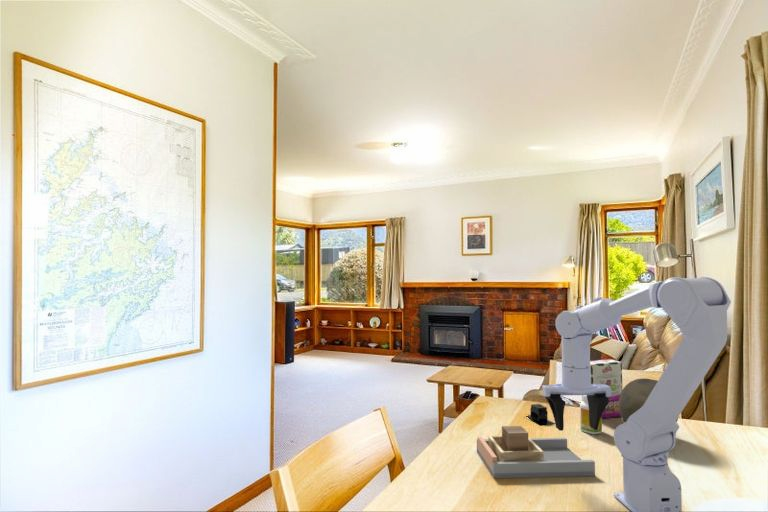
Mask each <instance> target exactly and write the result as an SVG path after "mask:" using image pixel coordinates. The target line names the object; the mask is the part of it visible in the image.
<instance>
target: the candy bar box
mask: <svg viewBox="0 0 768 512" xmlns="http://www.w3.org/2000/svg"><path fill="white" fill-rule="evenodd" d="M622 364H623V362H622V361H619V360H616V359H611V358H610V359H597V360H590V384H599V385H607V386H610V387H611V396H606V397H607V398H609V403H608V405H607V406H606V408H605V409H604V411H603V413H602V420H603V419H611V418H612V419H613V418H622V417H621V414H620V411H619V397H620V394H621V392H622V390H623V369H622V368H623V365H622ZM581 396H582V397H581V398H582V399H581V402H583V401H584V400H583V395H581Z"/></svg>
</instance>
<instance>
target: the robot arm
mask: <svg viewBox="0 0 768 512" xmlns="http://www.w3.org/2000/svg"><path fill="white" fill-rule="evenodd" d="M592 301H593V302H591V303H589V304H586V305H577V306H576V308H575V310H574V311H573V310H572V311H571V310H570V311H569V310H563V311H562V312H560V313H559V314H558V315H557V317H556V318H555V321H554V322H555V323H554V324H555V328H556V329H555V330H556V331H557V333H558V334H559V336H561V383H555V384H547V385H546V384H545V385H543V384H542V385H541V394H542V395H543V396H544V397H545V400H546V401H547V403H548V405H549V408H550V410H551V413H552V415H553V419H554V423H555V424H554V425H555V428H556V429H557V430H558V431H564V426H565V424H564V423H565V422H564V412H565V406H566V401H565V400H563V397H562V396H582V395H587V400H588V406H589V424H590V427H591V428H593V429H594V430H598V426H599V422H600V419H601V416H602V413H603V411H604V409H605V408H606V406H607V405H608V403H609V398H607V397H606V396H611V387H610V386H607V385H599V384H590V361H591V343H592V342H593V341H592V338H593V335H594V334H595V333H596V332H599V331H602V330H606V329H608V328H611V327H614V326H617V325H619V324H620V322H621V320H622V317H623V316H626V315H627V316H628V315H630V314H633V313H637V312H639V311H644V310H646V309H650V308H656V309H662V310H663V311H664V313H665V314H666V315H667V316H668V317H669V318H670V319H671V320H672V322H673V323H674V324H675V325H676V327H677V328H678V329H679V330H680V333H681V334H682V336H683V338H682V340H681V342H680V344H678V347H677V349H676V350H675V351H674V354H673V355H672V357H671V359H670V360H669V362H668V363H667V365H666V367H665V369H664V370H663V372H662V373H661V374H660V375H661V376H660V377H659V379H658V380H657V381H658V382H657V383H656V385H655V387H654V388H653V390H652V392H651V393H650V395H649V397H648V398H647V400H646V402H645V403H644V405H643V407H641V408H640V409H639V410H637V411H636V412H635V413H633V414H632V415H631V416H630V417H629V418H628V420H627V421H626V422H625V423H624V422H623V423H621V424H619V425H618V426H616V427H615V429H614V430H613V431H614V432H613V441H614V444H615V447H616V449H617V450H618V451H619V453H620V456H621V457H622V466H623V467H622V471H623V472H622V475H623V476H622V477H623V478H622V480H623V481H622V483H623V487H622V488H623V490H622V491H623V492H621V491H619V492H613V497H615V499H617V500H618V501H619V502H620V503H621V504H623V505H624V506H625V507H626V508H627V509H628V510H629V511H631V512H683V508H682V507H683V506H682V505H683V504H682V503H683V501H682V485H681V481H680V479H679V478H678V477H677V475H676V474H674V473H673V471H672V470H671V469H670V467H669V463H668V459H669V452H671V451H672V450H673V449H674V447H675V446H676V438H677V437H676V435H677V432H678V430H679V428H680V425H679V424H678V420H677V418H678V419H679V417H680V415H681V414H682V412H683V410H684V409H685V408H686V406H687V404H688V403H689V401H690V400H691V398H692V396H693V395H694V393H695V391H697V389H698V387H699V386H700V385H701V383H702V381H703V380H704V379H705V376H707V374H708V373H709V372H708V371H710V369H711V368H712V366H713V365H714V363H715V361H716V360H717V358H718V357H719V355H720V354H721V352H722V350H723V349H724V347H725V346H726V344H727V341H728V309H729V307H730V306H731V304H732V301H731V299H730V297H729V295H728V293H727V292H726V290H725V288H724V286H723V285H722V284H721V282H719V281H718V280H716V279H715V278H712V277H707V276H705V277H704V276H703V277H702V276H701V277H697V278H696V277H690V278H689V277H686V278H685V277H684V278H683V277H670V278H668V279H665V280H664V281H663V280H661V281H660V280H659V281H656V282H654V283H651V284H649V285H647V286H644V287H642V288H640V289H637V290H635V291H633V292H631V293H629V294H626V295H625V296H623V297H619V298H618V299H616V300H612V299H610V298H606V297H605V298H604V297H595V298H593V300H592ZM676 420H677V422H676Z"/></svg>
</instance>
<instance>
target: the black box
mask: <svg viewBox="0 0 768 512" xmlns="http://www.w3.org/2000/svg"><path fill="white" fill-rule="evenodd" d="M527 415H528V416H526V417H528V418H529V419H530V420H529V419H528V420H529V421H530V422H533V423H534V424H536V425H538V426H540V427H543V426H552V425H553V426H555V425H556V424H555V421H554V422H553V421H551V420H550V419H548V407H546V406H544V405H542V404H540V403H535V404H534V403H533V404H530V414H527Z"/></svg>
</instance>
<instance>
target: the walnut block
mask: <svg viewBox="0 0 768 512" xmlns="http://www.w3.org/2000/svg"><path fill="white" fill-rule="evenodd" d="M501 436H502V450H503V451H528V437H529V432H528V431H527V430H526V429H525V427H523V426H522V425H502V426H501Z"/></svg>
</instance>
